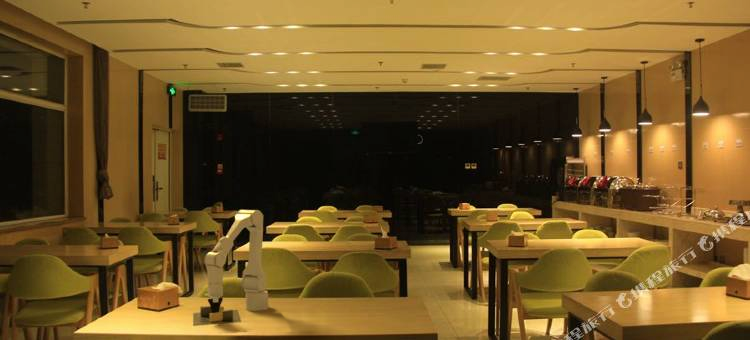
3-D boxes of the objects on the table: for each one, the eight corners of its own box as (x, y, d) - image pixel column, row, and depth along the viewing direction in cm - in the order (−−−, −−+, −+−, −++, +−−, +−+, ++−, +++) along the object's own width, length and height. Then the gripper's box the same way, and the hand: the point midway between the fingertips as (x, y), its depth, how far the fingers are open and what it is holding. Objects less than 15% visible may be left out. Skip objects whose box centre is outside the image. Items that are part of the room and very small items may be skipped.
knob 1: (200, 316, 235) (200, 307, 235) (200, 313, 239) (200, 305, 239) (223, 314, 238) (223, 306, 238) (223, 312, 242) (223, 303, 242)
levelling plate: (237, 312, 247) (237, 308, 247) (241, 324, 226) (241, 320, 226) (193, 315, 242) (193, 311, 242) (193, 328, 221) (193, 324, 221)
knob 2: (230, 316, 234) (230, 308, 234) (234, 319, 230) (234, 310, 230) (208, 320, 228) (208, 311, 228) (212, 322, 225) (211, 313, 225)
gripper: (204, 279, 235) (204, 313, 235) (204, 286, 221) (204, 322, 221) (222, 278, 237) (222, 311, 237) (223, 285, 223) (224, 320, 223)
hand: (215, 316), depth 229 cm, fingers closed, pressing on knob 2
